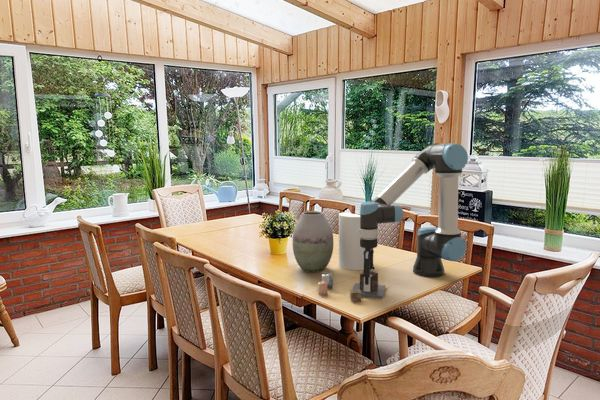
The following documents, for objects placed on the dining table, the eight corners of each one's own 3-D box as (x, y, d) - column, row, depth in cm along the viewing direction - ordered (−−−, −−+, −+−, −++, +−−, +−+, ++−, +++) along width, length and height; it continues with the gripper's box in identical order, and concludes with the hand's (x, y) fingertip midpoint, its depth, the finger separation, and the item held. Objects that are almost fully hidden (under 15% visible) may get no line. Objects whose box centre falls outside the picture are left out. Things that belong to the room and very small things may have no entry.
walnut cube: (359, 298, 179) (359, 289, 179) (360, 302, 175) (361, 292, 175) (350, 298, 180) (350, 289, 179) (351, 302, 176) (351, 292, 175)
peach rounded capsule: (328, 292, 187) (328, 281, 186) (326, 295, 183) (326, 284, 182) (319, 291, 188) (319, 281, 187) (317, 295, 184) (317, 283, 183)
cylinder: (352, 272, 215) (352, 218, 212) (332, 264, 230) (332, 213, 226) (377, 266, 225) (378, 214, 221) (356, 259, 239) (357, 210, 235)
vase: (299, 262, 235) (298, 209, 231) (337, 265, 228) (337, 210, 224) (287, 273, 214) (286, 215, 210) (328, 277, 208) (328, 217, 204)
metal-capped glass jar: (333, 285, 196) (333, 273, 195) (331, 289, 191) (331, 276, 190) (323, 284, 197) (323, 272, 196) (320, 288, 192) (320, 275, 191)
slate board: (385, 287, 192) (385, 285, 191) (383, 298, 178) (383, 296, 178) (354, 285, 195) (354, 283, 195) (350, 296, 182) (350, 293, 182)
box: (366, 286, 191) (366, 270, 190) (378, 288, 187) (378, 272, 186) (359, 289, 186) (359, 273, 185) (371, 292, 182) (371, 276, 181)
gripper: (363, 232, 195) (363, 278, 198) (356, 243, 174) (356, 295, 177) (379, 232, 193) (379, 280, 196) (374, 244, 172) (374, 296, 175)
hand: (368, 287), depth 187 cm, fingers open, 9 cm apart
